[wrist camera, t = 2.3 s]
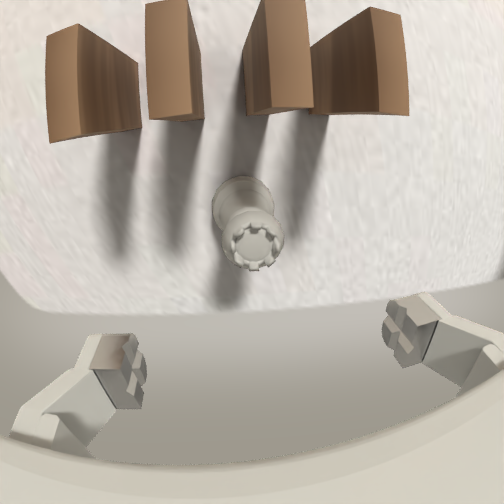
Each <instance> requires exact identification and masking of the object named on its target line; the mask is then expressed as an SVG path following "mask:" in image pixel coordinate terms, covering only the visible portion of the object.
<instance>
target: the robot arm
mask: <svg viewBox="0 0 504 504" xmlns="http://www.w3.org/2000/svg"><path fill="white" fill-rule="evenodd" d="M386 312H387V313H388V316H387V317H386V319H385V320H384V321H383V325H382V337H383V339H384V342H385V343H386V345H387V346H388V347H389V348H391V349H393V350H394V357H395V358H396V360H397V361H398V363H399V364H400V365H401V367H402V368H406V367H409V366H412V365H415V364H418V363H421V362H422V363H423V364H424V365H426V366H428V367H429V368H431V369H432V370H434V371H435V372H437V373H439V374H440V375H442V376H444V377H445V378H447V379H449V380H450V381H452V382H454V383H455V384H457V385H459V386H460V387H461V389H460V390H459V392H458V393H457V395H456V397H455V398H453V399H452V400H450V401H448V402H446V403H444V404H442V405H440V406H437V407H435V408H433V409H431V410H429V411H427V412H424V413H423V414H420V415H418V416H415V417H413V418H411V419H408V420H406V421H403V422H401V423H398V424H396V425H393V426H390V427H388V428H385V429H382V430H379V431H376V432H373V433H371V434H368V435H364V436H361V437H358V438H355V439H351V440H349V441H345V442H341V443H338V444H334V445H330V446H326V447H322V448H318V449H313V450H309V451H305V452H300V453H295V454H289V455H284V456H278V457H273V458H265V459H259V460H250V461H243V462H231V463H218V464H198V465H160V464H140V463H127V462H117V461H109V460H101V459H96V457H94V455H92V454H91V452H90V451H88V450H87V448H86V447H87V446H88V445H89V443H90V442H91V440H93V438H94V437H95V436H96V435H97V434H98V432H99V431H100V430H101V429H102V428H103V426H104V425H105V424H106V423H107V421H108V420H109V419H110V417H112V415H113V414H114V413H115V412H116V409H141V407H142V401H143V395H144V392H143V390H142V388H141V386H142V385H143V384H144V383H145V382H146V377H147V370H146V362H145V358H144V356H143V354H142V353H141V352H140V351H138V350H137V348H138V344H139V343H138V341H137V338H136V336H135V335H134V334H133V333H131V334H129V333H128V334H91V335H89V336H88V338H87V340H86V342H85V344H84V346H83V349H82V351H81V353H80V355H79V357H78V360H77V362H76V365H75V367H74V369H69V370H67V371H66V372H65V373H64V374H62V375H61V376H60V377H58V378H57V379H56V380H55V381H54V382H52V383H51V384H49V385H48V386H47V387H46V388H44V389H43V390H42V391H41V392H39V393H38V394H37V395H35V396H34V397H33V398H32V399H30V400H29V401H28V402H27V403H25V404H24V405H23V406H22V407H21V408H20V410H19V412H18V415H17V417H16V420H15V422H14V425H13V427H12V430H11V432H10V435H9V438H8V437H5V436H3V435H0V504H504V333H501V332H499V331H496V330H494V329H491V328H488V327H485V326H483V325H480V324H478V323H475V322H472V321H470V320H467V319H464V318H462V317H459V316H456V315H454V316H451V314H450V313H449V312H448V311H447V310H446V309H444V307H442V306H441V305H440V304H439V303H438V302H437V301H436V300H435V299H434V298H433V297H432V296H431V295H430V294H429V293H427V292H421V293H418V294H414V295H411V296H407V297H403V298H398V299H394V300H390V301H389V303H388V304H387V308H386Z"/></svg>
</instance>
